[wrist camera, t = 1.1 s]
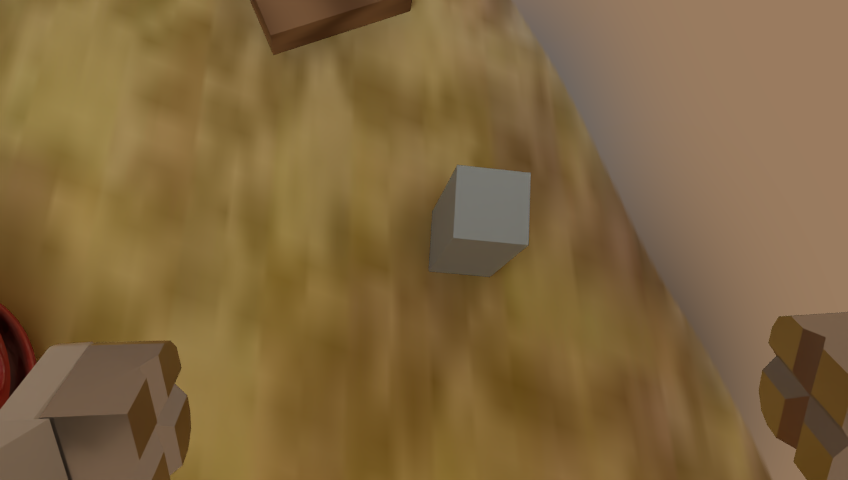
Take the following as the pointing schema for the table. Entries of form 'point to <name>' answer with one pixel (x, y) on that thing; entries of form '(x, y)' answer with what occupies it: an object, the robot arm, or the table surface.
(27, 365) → the plant pot
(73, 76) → the table surface
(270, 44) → the base slab
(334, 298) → the table surface
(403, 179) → the table surface
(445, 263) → the pillar
